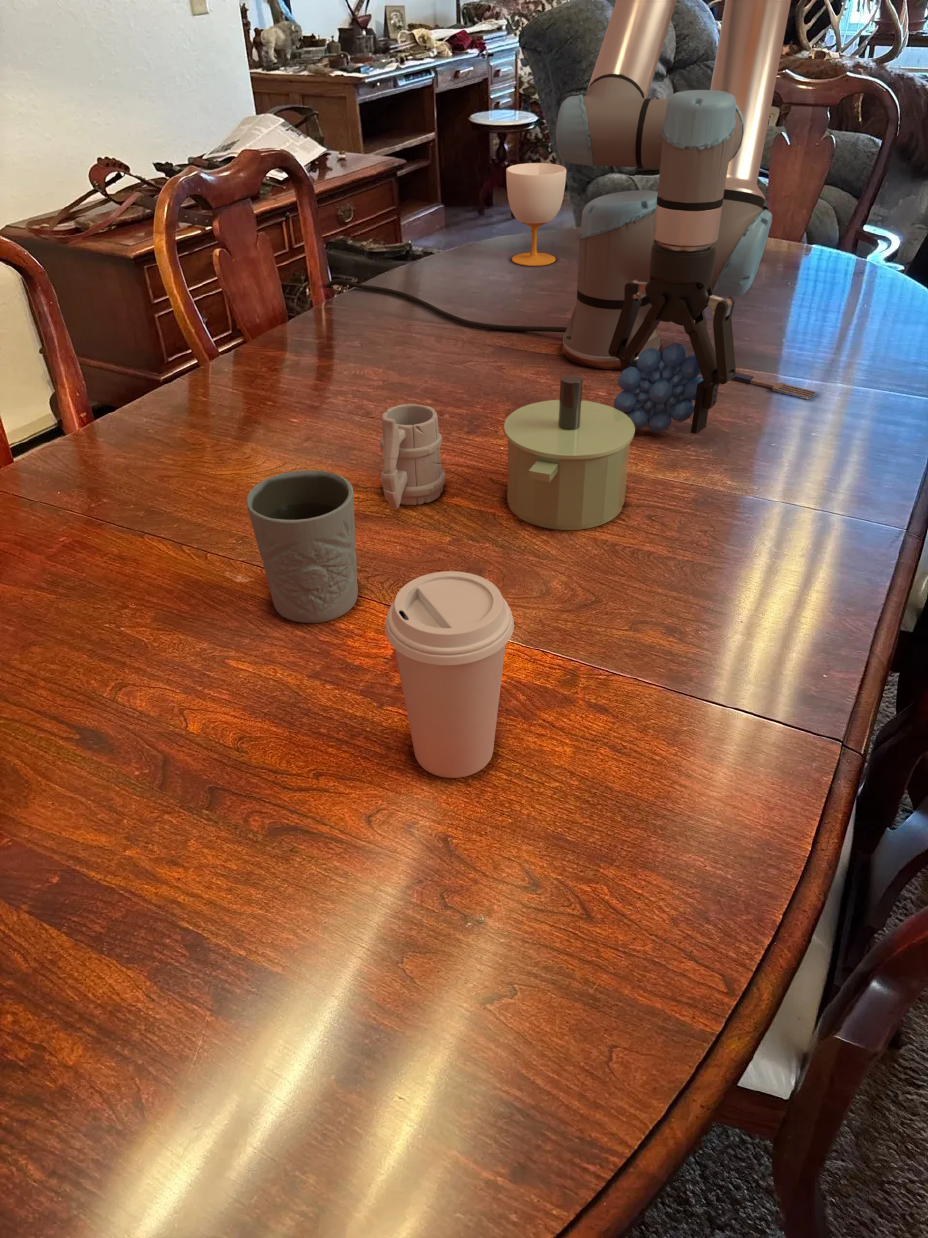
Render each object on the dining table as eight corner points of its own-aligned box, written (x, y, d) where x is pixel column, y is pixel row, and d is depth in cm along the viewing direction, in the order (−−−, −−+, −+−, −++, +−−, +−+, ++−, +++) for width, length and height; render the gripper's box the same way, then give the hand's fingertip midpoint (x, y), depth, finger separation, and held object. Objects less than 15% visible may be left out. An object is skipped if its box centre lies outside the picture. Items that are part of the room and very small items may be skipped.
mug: (453, 480, 113) (451, 387, 106) (421, 528, 104) (416, 430, 97) (395, 472, 115) (389, 380, 108) (359, 518, 106) (349, 422, 99)
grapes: (698, 422, 125) (712, 333, 118) (701, 442, 119) (715, 351, 112) (612, 417, 126) (620, 329, 119) (610, 437, 121) (619, 346, 114)
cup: (501, 267, 185) (502, 174, 175) (508, 251, 194) (509, 162, 184) (559, 268, 183) (564, 175, 173) (564, 252, 192) (568, 163, 182)
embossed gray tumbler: (321, 639, 88) (306, 531, 81) (242, 608, 92) (221, 503, 85) (383, 587, 95) (375, 483, 88) (308, 560, 99) (293, 459, 92)
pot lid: (483, 450, 101) (483, 393, 97) (530, 400, 111) (532, 347, 107) (612, 474, 96) (617, 415, 92) (648, 419, 106) (655, 364, 103)
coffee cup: (394, 714, 79) (381, 569, 70) (504, 706, 80) (506, 561, 71) (397, 797, 72) (383, 646, 63) (519, 788, 72) (522, 636, 63)
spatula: (674, 366, 141) (674, 362, 141) (682, 361, 143) (682, 357, 143) (807, 399, 130) (808, 395, 130) (815, 393, 132) (816, 389, 132)
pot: (480, 527, 104) (479, 455, 99) (538, 456, 118) (541, 389, 112) (596, 552, 99) (602, 477, 94) (642, 475, 113) (650, 406, 108)
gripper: (787, 250, 105) (754, 431, 118) (620, 222, 116) (606, 391, 130) (759, 265, 100) (727, 452, 114) (587, 235, 112) (577, 408, 125)
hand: (663, 419), depth 122 cm, fingers closed on grapes, 9 cm apart
